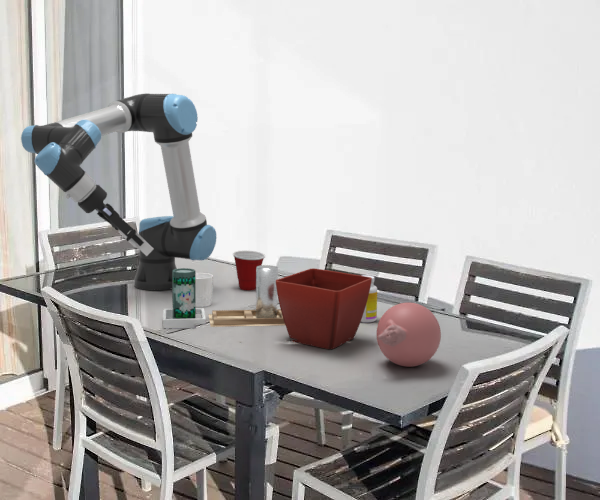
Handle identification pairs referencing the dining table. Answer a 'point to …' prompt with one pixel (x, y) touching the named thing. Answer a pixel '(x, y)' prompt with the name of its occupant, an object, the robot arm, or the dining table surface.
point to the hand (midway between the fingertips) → (144, 248)
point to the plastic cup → (247, 268)
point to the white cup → (204, 289)
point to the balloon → (408, 334)
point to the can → (184, 293)
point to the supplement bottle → (370, 304)
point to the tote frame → (182, 320)
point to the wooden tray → (242, 318)
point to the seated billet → (266, 291)
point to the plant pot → (322, 306)
